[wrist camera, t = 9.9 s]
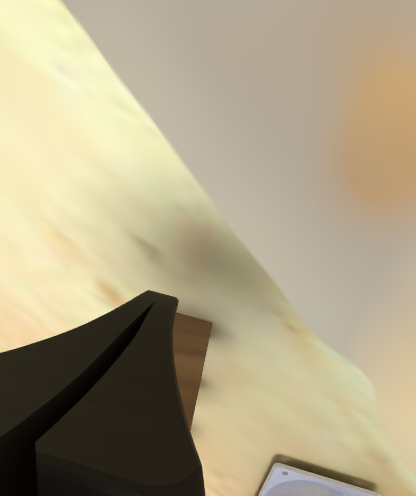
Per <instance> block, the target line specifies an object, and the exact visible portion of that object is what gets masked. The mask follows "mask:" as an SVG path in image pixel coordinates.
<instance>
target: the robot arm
mask: <svg viewBox="0 0 416 496" xmlns="http://www.w3.org/2000/svg"><path fill="white" fill-rule="evenodd" d="M177 306H178V299H177V298H176V297H172V296H168V295H165V294H161V293H157V292H153V291H150V290H148V291H146V292H144V293H142V294H140V295H139V296H137V297H135V298H134V299H132V300H130V301H128V302H127V303H125V304H123V305H121V306H120V307H118V308H116V309H114V310H112V311H111V312H109V313H107V314H105V315H103V316H101V317H99V318H97V319H95V320H93V321H91V322H88V323H86V324H84V325H82V326H79V327H77V328H75V329H72V330H70V331H67V332H64V333H62V334H59V335H57V336H54V337H51V338H48V339H45V340H42V341H39V342H36V343H32V344H29V345H26V346H23V347H20V348H17V349H13V350H9V351H6V352H2V353H0V496H205V488H204V480H203V471H202V465H201V462H200V459H199V456H198V453H197V451H196V448H195V445H194V442H193V439H192V436H191V433H190V429H189V426H188V422H187V419H186V416H185V412H184V408H183V404H182V399H181V395H180V391H179V387H178V381H177V375H176V369H175V362H174V352H173V325H174V320H175V315H176V310H177ZM258 496H381V495H380V494H379V493H377V492H373V491H370V490H367V489H363V488H360V487H357V486H354V485H350V484H347V483H344V482H340V481H337V480H334V479H331V478H327V477H324V476H321V475H317V474H314V473H311V472H308V471H304V470H301V469H298V468H294V467H291V466H288V465H284V464H281V463H275V464H274V465H273V467H272V469H271V471H270V473H269V475H268V477H267V479H266V481H265V483H264V485H263V487H262V489H261V491H260V493H259V495H258Z"/></svg>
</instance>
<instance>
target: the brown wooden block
mask: <svg viewBox="0 0 416 496" xmlns="http://www.w3.org/2000/svg"><path fill="white" fill-rule="evenodd" d="M211 327H212V323H211V322H208V321H204V320H200V319H197V318H193V317H189V316H186V315H182V314H179V313H176V315H175V320H174V325H173V352H174V362H175V369H176V375H177V381H178V387H179V391H180V395H181V399H182V404H183V408H184V412H185V416H186V419H187V422H188V426H189V429H191V425H192V420H193V415H194V410H195V405H196V400H197V395H198V390H199V386H200V381H201V376H202V371H203V366H204V361H205V356H206V351H207V346H208V341H209V337H210V332H211Z"/></svg>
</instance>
